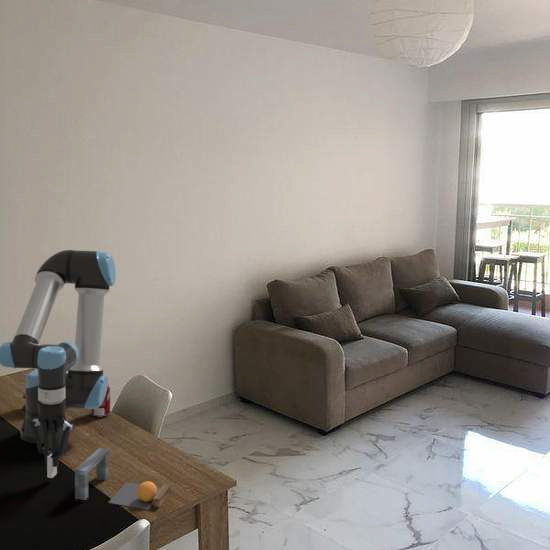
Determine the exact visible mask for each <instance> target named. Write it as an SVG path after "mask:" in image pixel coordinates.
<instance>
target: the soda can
mask: <svg viewBox="0 0 550 550" xmlns="http://www.w3.org/2000/svg"><path fill="white" fill-rule="evenodd" d="M110 413H111V387H110V384H109V383H108V386H107V391H106V395H105V398H104V401H103V403H102V405H101V406H100V407H99V408H96V409H91V415H92V416H94V417H95V416H97V417H96V418H104V417H103V416H105V417H107V416H109V415H110Z"/></svg>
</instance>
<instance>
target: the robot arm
mask: <svg viewBox="0 0 550 550" xmlns="http://www.w3.org/2000/svg"><path fill="white" fill-rule="evenodd" d="M116 274H117V273H116V265H115V261H114V258H113V255H112V254H110V252H105V251H104V252H103V251H98V250H96V251H95V250H94V251H93V250H92V251H91V250H76V249H75V250H73V249H65V250H61V251H58V252H56V253H54V254H53V255H51V256H50V257H48V259H46V260H45V261H44V262H43V263H42V264H41V265H40V267H39V269H37V272H36V274H35V277H34V282H35V286H34V287H33V289H32V292H31V295H30V298H29V300H28V302H27V305H26V306H25V307H26V308H25V310H24V313H23V315H22V317H21V319H20V322H19V324H18V326H17V329H16V331H15V334H14V336H13V339H12V341H8V342H6V341H5V342H2V343H3V344H1V345H0V365H1V366H2V367H4V368H10V369H12V368H13V369H32V371H30V372H28V374H26V377H25V385H24V391H26V392H25V393H26V399H25V404H26V412H25V416H24V418H23V422H22V425H21V428H20V439H21V440H22V441H24V442H27V443H30V444H36V448H37V451H38V453H39V454H43V456H44V466H46V472H47V474H46V476H47V478H49V479H53V478H54V477H55V476H57V474H58V466H60V457H61V456H62V455H63V454H65V453H66V451H67V447H68V443H69V440H70V439H69V438H70V434H71V431H72V430H73V428H74V426H75V425H74V424H73V423H69V422H68V421H67V416H66V408H67V409H84V410H89V409H90V410H92V409H96V408H99V407H100V406H101V405H102V403H103V401H104V398H105V395H106V391H107V386H108V384H109V377H108V375H106V374H104V368H103V367H102V366H101V364H100V359H101V346H102V335H103V321H104V320H103V316H104V306H105V305H104V303H105V295H107V294H108V293H109V291H110V287H113V286H114V285H115V283H116V277H117V276H116ZM66 284H72V285H74V290H75V291H76V293H77V294H78V297H77V299H78V300H77V312H76V322H75V323H76V326H75V338H74V339H75V341H74V342H72V341H64V342H60V343H59V344H46V343H40V341H41V339H42V336H43V334H44V330H45V329H46V325H47V323H48V320H49V317H50V315H51V312H52V309H53V306H54V304H55V302H56V299H57V295H58V294H59V291H62V290H63V288H64V286H65V285H66ZM33 369H34V370H33Z"/></svg>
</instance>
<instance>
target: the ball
mask: <svg viewBox="0 0 550 550" xmlns="http://www.w3.org/2000/svg"><path fill="white" fill-rule="evenodd" d="M140 484H141V485H140V486H139V487H138V491H137V494H138V497H139V498H140V500H142V501H144V502H149V501H151V500H153V498H154V497H155V495H156V494H157V487H158V486H157V485H156V484H155V483H153V482H152V481H149V480H148V481H144V482H142V483H140Z"/></svg>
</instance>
